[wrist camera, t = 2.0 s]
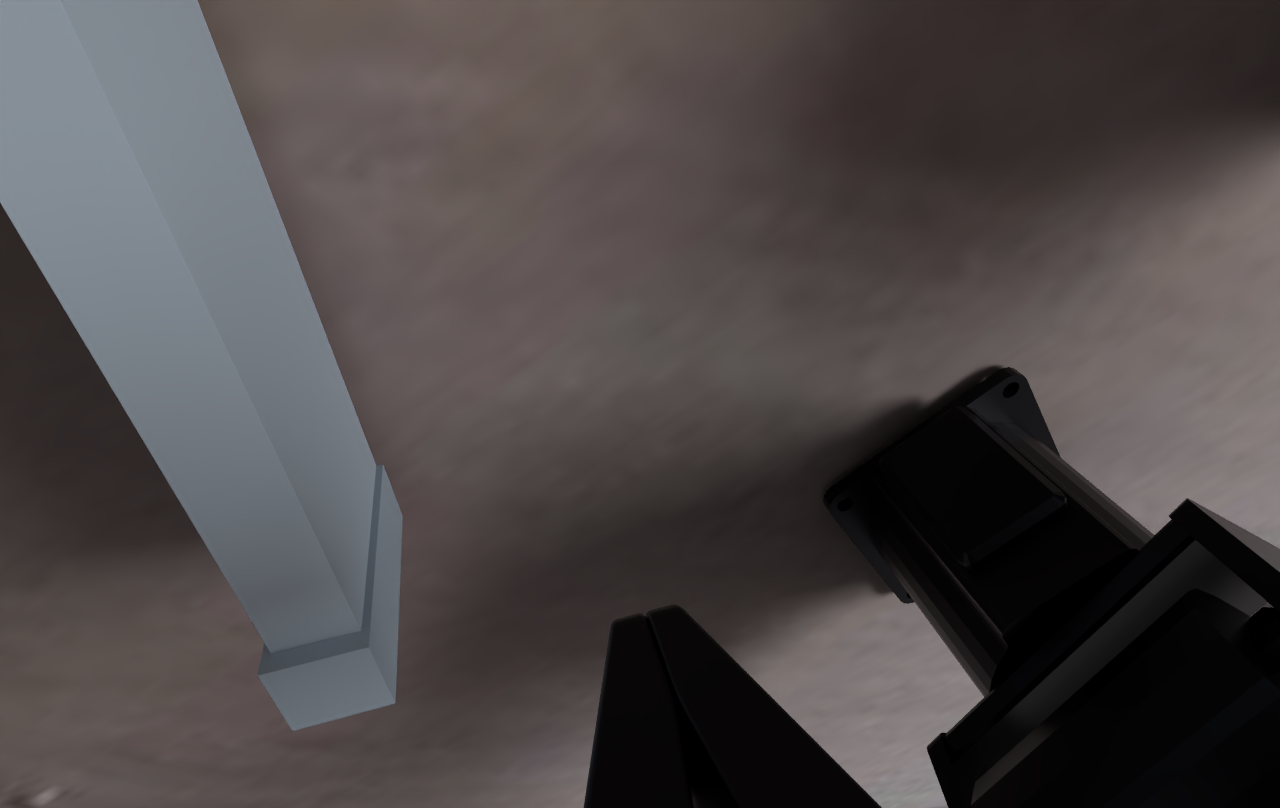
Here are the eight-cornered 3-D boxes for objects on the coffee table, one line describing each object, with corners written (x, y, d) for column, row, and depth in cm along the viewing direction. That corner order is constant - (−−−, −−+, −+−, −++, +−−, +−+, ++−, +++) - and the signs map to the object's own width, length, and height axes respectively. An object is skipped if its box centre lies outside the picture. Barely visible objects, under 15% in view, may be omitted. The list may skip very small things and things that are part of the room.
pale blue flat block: (-104, -370, 9) (-850, -794, 4) (88, -380, 9) (-345, -783, 4) (317, 527, 17) (271, 782, 12) (411, 506, 18) (405, 745, 12)
